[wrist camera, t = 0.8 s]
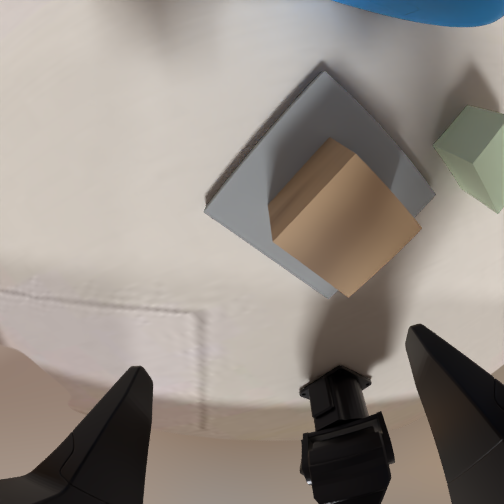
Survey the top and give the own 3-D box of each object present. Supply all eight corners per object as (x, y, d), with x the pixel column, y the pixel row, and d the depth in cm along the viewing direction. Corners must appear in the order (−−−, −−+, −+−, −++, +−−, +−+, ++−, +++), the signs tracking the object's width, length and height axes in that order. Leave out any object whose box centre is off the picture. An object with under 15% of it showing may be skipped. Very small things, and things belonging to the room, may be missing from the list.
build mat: (429, 189, 20) (436, 194, 19) (325, 291, 24) (328, 299, 23) (321, 72, 16) (324, 71, 15) (205, 206, 20) (203, 212, 20)
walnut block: (388, 196, 19) (422, 228, 15) (330, 254, 21) (348, 297, 17) (329, 137, 17) (355, 153, 13) (267, 205, 19) (272, 241, 15)
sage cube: (492, 150, 17) (531, 169, 13) (461, 188, 19) (497, 214, 15) (466, 105, 16) (509, 115, 12) (432, 145, 18) (472, 163, 14)
